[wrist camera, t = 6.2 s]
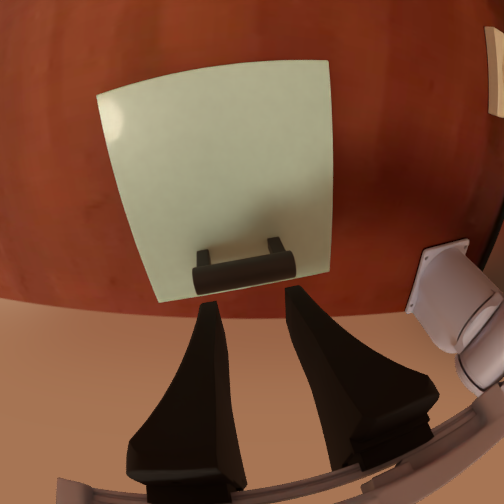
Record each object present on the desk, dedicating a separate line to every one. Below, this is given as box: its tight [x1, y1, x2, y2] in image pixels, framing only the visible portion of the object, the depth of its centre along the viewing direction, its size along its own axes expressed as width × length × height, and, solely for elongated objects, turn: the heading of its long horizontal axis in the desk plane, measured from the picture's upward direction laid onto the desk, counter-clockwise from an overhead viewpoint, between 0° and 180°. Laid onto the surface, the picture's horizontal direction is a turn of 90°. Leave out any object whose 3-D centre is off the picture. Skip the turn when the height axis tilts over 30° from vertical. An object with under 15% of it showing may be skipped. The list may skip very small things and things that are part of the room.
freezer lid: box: [96, 60, 333, 303], centre depth 13 cm, size 13×11×4 cm
